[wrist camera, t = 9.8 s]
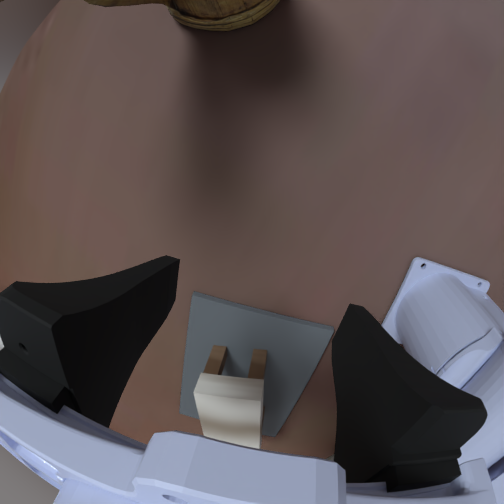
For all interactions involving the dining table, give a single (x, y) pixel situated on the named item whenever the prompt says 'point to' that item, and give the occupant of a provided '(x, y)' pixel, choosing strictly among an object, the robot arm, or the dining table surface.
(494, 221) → the dining table surface
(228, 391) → the cream block with tabs
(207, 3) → the wooden mug
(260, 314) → the mat
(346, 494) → the robot arm
